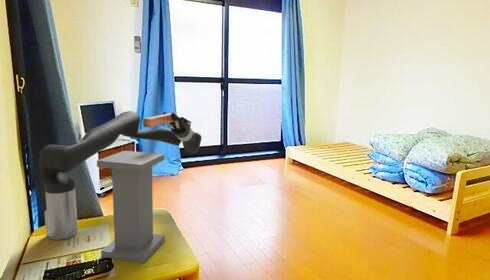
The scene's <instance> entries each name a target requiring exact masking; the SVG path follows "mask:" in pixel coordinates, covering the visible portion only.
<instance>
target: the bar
mask: <svg viewBox="0 0 490 280" xmlns="http://www.w3.org/2000/svg"><path fill="white" fill-rule="evenodd" d="M171 113H172V112H168V113H167V114H163V113H162V114H163V115H162V114H159V115H154V116H149V117H146V118H142V125H143V126H142V127H143V128H147V129H148V128H149V129H152V128H155V127H158V126H159V127H160V126H162V125H163V124H167V123H170V122H174V120H173V119H172V118H171ZM173 113H174V114H176V115H177V113H175V112H173ZM177 116H178V115H177Z"/></svg>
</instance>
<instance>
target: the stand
mask: <svg viewBox="0 0 490 280" xmlns="http://www.w3.org/2000/svg"><path fill="white" fill-rule="evenodd" d="M164 160H165V153H158V152H157V153H155V152H154V153H153V152H145V151H144V152H143V151H133V150H132V151H131V150H122V151H120V152H117V153H114V154H111V155H109V156H105V157H103V158H100V159H97V160H96V167H97V168H104V169H111V179H112V180H111V181H112V183H111V184H112V202H113V203H112V205H113V206H112V207H113V230H114V231H113V232H114V233H113V235H114V236H113V238H114V240H113V241H111V242H110V243H109V244H108V245H107V246H104V248H103V249H101V250H100V256H101V257H102V258H108V259H109V258H110V259H115V260H122V261H128V262H134V263H140V264H145V262H147V261H148V260H149V258H150V257H151V256H152V255H153V254H154V253H155V252H156V251H157V250H158V249H159V247H160V246H161V245H162V244H163V243H164V242H166V241H165V240H166V238H165V237H166V236H165V235H166V234H165V235H164V234H157V233H154V222H153V221H154V216H153V215H154V214H153V213H154V209H153V208H154V207H153V204H154V203H153V202H154V201H153V166H156V165H157V164H159V163H161V162H163V161H164Z"/></svg>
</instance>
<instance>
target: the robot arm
mask: <svg viewBox="0 0 490 280" xmlns="http://www.w3.org/2000/svg"><path fill="white" fill-rule="evenodd" d="M170 113H171V118H172V119H173V120H174V122H170V123H167V124H163V125H161V126H162V127H163V128H158V129H151V130H142V129H139V127H140V124H141V116H140V114H138V112H135V111H131V110H130V111H129V110H127V111H124V112H121V113H119V114H118V115H117V116H115V117H114V118H112V119H110V120H108V121H106V122H104V123H103V124H100V125H98V126H96V127H93V128H91V129H90V130H88V131H87V132H86V133H85V134H84V136H83V138H82V141H81V140H80V141H79V142H77V143H75V144H72V145H63V144H61V145H59V144H48V145H46V146H44V147H43V148H42V149H41V150H40V154H39V159H38V160H39V170H40V171H39V172H40V178H41V183H42V185H43V187H44V191H45V193H44V194H45V202H46V210H44V223H45V224H44V225H45V234H46V237H48V238H49V239H50V240H55V241H56V240H57V241H59V240H67V239H69V238H70V239H71V238H73V237H74V236H77V234H78V231H79V230H78V218H77V217H78V213H77V212H78V211H77V198H76V183H75V180H74V179H73V178H71V177H70V176H68V175H67V174H66V173H69V172H71V171H73V170H75V169H76V168H77V167H79V166H80V165H81V164H83V163H85V161H86V160H88V159H89V158H91V157H92V156H94V155H96V154H98V153H99V152H101V151H103V150H105V149H106V148H108V147H110V146H112V145H113V144H114V143H115V141H117V139H118V138H119V137H120V135H122V136H123V137H127V138H132V139H133V138H134V139H139V140H140V139H141V140H150V141H155V142H156V141H158V142H162V143H165V144H170V145H174V146H177V147H178V146H180V145H181V144H182V147H183V149H184V151H186V152H187V153H189V154H197V153H198V152H199V151H200V150H199V149H200V146H201V142H202V135H201V134H200V133H199V132H196V131H195V132H194V131H193V129H192V128H191V125H192V121H191V120H189V119H187V118H186V117H183V116H179V115H176V114H177V113H176V114H174V113H175V112H170ZM163 114H168V113H167V112H166V111H164V112H163V113H162V114H161V115H163ZM164 126H167V127H164Z"/></svg>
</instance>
